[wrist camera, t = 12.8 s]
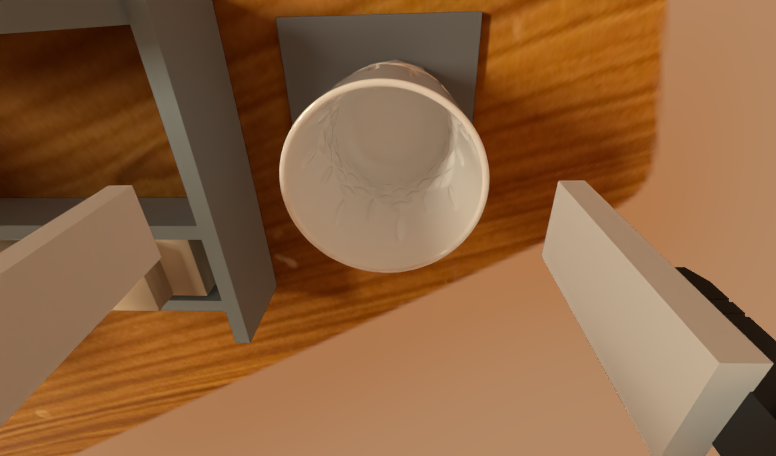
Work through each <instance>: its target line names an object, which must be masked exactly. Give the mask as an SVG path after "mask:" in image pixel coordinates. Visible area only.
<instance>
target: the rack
mask: <svg viewBox="0 0 776 456" xmlns="http://www.w3.org/2000/svg"><path fill="white" fill-rule="evenodd" d="M118 25H130V26H131V29H132V32H133V35H134V38H135V41H136V44H137V47H138V50H139V53H140V56H141V59H142V62H143V65H144V68H145V71H146V74H147V77H148V80H149V83H150V86H151V89H152V92H153V95H154V98H155V101H156V104H157V107H158V110H159V113H160V116H161V119H162V122H163V125H164V128H165V131H166V134H167V137H168V140H169V143H170V146H171V149H172V152H173V155H174V158H175V161H176V164H177V167H178V170H179V173H180V176H181V179H182V182H183V185H184V188H185V191H186V194H187V197H188V198H137V199H138V201H139V203H140V206H141V208H142V211H143V213H144V216H145V218H146V220H147V223H148V225H149V228H150V230H151V233H152V235H153V238H154V240H202V242H203V246H204V249H205V252H206V255H207V258H208V261H209V264H210V267H211V270H212V273H213V276H214V279H215V282H216V284H215V285H214V287H213V288H212V290H211V291H210V293H209V294H208V295H207V296H191V295H172V296H171V298H170V299H169V300H168V301H167V302H166V304H165V305H164V306H163V307H162V309H161V310H180V311H225V312H226V315H227V318H228V321H229V324H230V327H231V330H232V333H233V336H234V339H235V342H236V343H251V340H252V338H253V336H254V334H255V332H256V330H257V328H258V326H259V323H260V321H261V319H262V317H263V315H264V313H265V311H266V309H267V306H268V304H269V302H270V300H271V298H272V296H273V294H274V291H275V289H276V287H277V283H276V279H275V274H274V270H273V266H272V261H271V257H270V252H269V248H268V244H267V239H266V235H265V230H264V226H263V222H262V217H261V213H260V208H259V204H258V200H257V195H256V191H255V186H254V182H253V178H252V173H251V169H250V164H249V160H248V156H247V151H246V147H245V142H244V138H243V134H242V129H241V125H240V120H239V116H238V112H237V107H236V103H235V98H234V94H233V90H232V85H231V81H230V76H229V72H228V68H227V63H226V59H225V54H224V50H223V46H222V41H221V37H220V32H219V28H218V24H217V19H216V15H215V10H214V6H213V2H212V0H0V34H8V33H22V32H36V31H49V30H63V29H77V28H90V27H104V26H118ZM86 199H88V198H0V239H23V238H25V237H26V236H28V235H29V234H31V233H33V232H34V231H36V230H38V229H39V228H41V227H42V226H44V225H46V224H47V223H49V222H50V221H52V220H54V219H55V218H57V217H59V216H60V215H62V214H63V213H65V212H67V211H68V210H70V209H71V208H73V207H75V206H76V205H78V204H79V203H81V202H83V201H84V200H86Z"/></svg>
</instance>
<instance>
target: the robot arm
mask: <svg viewBox="0 0 776 456" xmlns="http://www.w3.org/2000/svg"><path fill="white" fill-rule="evenodd" d="M160 258H161V255H160V252H159V250H158V247H157V245H156V242H155V240H154V238H153V235H152V233H151V230H150V228H149V225H148V223H147V220H146V218H145V216H144V213H143V211H142V208H141V206H140V203H139V201H138V199H137V196H136V194H135V191H134V189H133V186H132V185H116V186H107V187H105V188H104V189H102V190H100V191H99V192H97V193H96V194H94V195H92V196H91V197H89V198H88V199H86V200H84V201H83V202H81V203H79V204H78V205H76V206H75V207H73V208H71V209H70V210H68V211H67V212H65V213H63V214H62V215H60V216H59V217H57V218H55V219H54V220H52V221H50V222H49V223H47V224H46V225H44V226H42V227H41V228H39V229H38V230H36V231H34V232H33V233H31V234H29V235H28V236H26V237H25V238H23V239H21V240H20V241H18V242H17V243H15V244H13V245H12V246H10V247H9V248H7V249H5V250H4V251H2V252H0V427H1V426H2V425H3V424H4V423H5V422H6V421H7V420H8V419H9V418H10V417H11V416H12V415H13V414H14V413H15V412H16V411H17V409H18V408H19V407H20V406H21V405H22V404H23V403H24V402H25V401H26V400H27V399H28V398H29V397H30V396H31V395H32V394H33V393H34V392H35V390H36V389H37V388H38V387H39V386H40V385H41V384H42V383H43V382H44V381H45V380H46V379H47V378H48V377H49V376H50V375H51V374H52V373H53V371H54V370H55V369H56V368H57V367H58V366H59V365H60V364H61V363H62V362H63V361H64V360H65V359H66V358H67V357H68V356H69V355H70V354H71V352H72V351H73V350H74V349H75V348H76V347H77V346H78V345H79V344H80V343H81V342H82V341H83V340H84V339H85V338H86V337H87V336H88V334H89V333H90V332H91V331H92V330H93V329H94V328H95V327H96V326H97V325H98V324H99V323H100V322H101V321H102V320H103V319H104V318H105V317H106V315H107V314H108V313H109V312H110V311H111V310H112V309H113V308H114V307H115V306H116V305H117V304H118V303H119V302H120V301H121V300H122V299H123V298H124V296H125V295H126V294H127V293H128V292H129V291H130V290H131V289H132V288H133V287H134V286H135V285H136V284H137V283H138V282H139V281H140V280H141V279H142V277H143V276H144V275H145V274H146V273H147V272H148V271H149V270H150V269H151V268H152V267H153V266H154V265H155V264H156V263H157V262H158V261H159V260H160ZM542 258H543V260H544V262H545V264H546V265H547V267H548V269H549V271H550V273H551V274H552V276H553V278H554V280H555V282H556V284H557V285H558V287H559V289H560V291H561V293H562V294H563V296H564V298H565V300H566V302H567V303H568V305H569V307H570V309H571V311H572V312H573V314H574V316H575V318H576V320H577V321H578V323H579V325H580V327H581V329H582V330H583V332H584V334H585V336H586V338H587V340H588V341H589V343H590V345H591V347H592V349H593V350H594V352H595V354H596V356H597V358H598V360H599V361H600V363H601V365H602V367H603V369H604V370H605V372H606V374H607V376H608V378H609V379H610V381H611V383H612V385H613V387H614V389H615V390H616V392H617V394H618V396H619V398H620V399H621V401H622V403H623V405H624V407H625V408H626V410H627V412H628V414H629V416H630V417H631V419H632V421H633V423H634V425H635V426H636V428H637V430H638V432H639V434H640V436H641V437H642V439H643V441H644V443H645V445H646V446H647V448H648V450H649V452H650V454H651V456H705V455H706V454H707V453H708V451H709V450H710V448H711V447H712V446H714V447H715V449H716V450H717V452H718V453H719V454H720V456H776V341H775V340H774V339H773V338H772V337H771V336H770V335H768V334H767V333H766V332H765V331H764V330H763V329H762V328H761V327H760V326H759V325H757V324H756V323H755V322H754V321H753V320H752V319H751V318H750V317H745V313H744V312H743V311H742V310H741V309H740V308H739V307H737V306H736V305H735V304H734V303H733V302H729V298H727V297H726V296H725V295H724V294H723V293H722V292H721V291H720V290H719V289H718V288H716V287H715V286H714V285H713V284H712V283H711V282H710V281H708V280H706V279H704V278H703V277H701V276H699V275H697V274H695V273H694V272H692V271H690V270H688V269H687V268H685V267H673V266H672V265H671V264H670V263H669V262H668V261H667V260H666V259H665V258H664V257H663V256H662V255H661V254H660V253H659V252H658V251H657V250H656V249H655V248H654V247H653V246H652V245H651V244H650V243H649V242H647V240H646V239H645V238H644V237H642V236H641V235H640V234H639V233H638V232H637V231H636V230H635V229H634V228H633V227H632V226H631V225H630V224H629V223H628V222H627V221H626V220H625V219H624V218H623V217H622V216H621V215H620V214H619V213H618V212H617V211H616V210H615V209H614V208H613V207H611V206H610V205H609V204H608V203H607V202H606V201H605V200H604V199H603V198H602V197H601V196H600V195H599V194H598V193H597V192H596V191H595V190H594V189H593V188H592V187H591V186H590V185H589V184H588V183H587V182H586V181H585V180H571V181H558V185H557V189H556V193H555V198H554V202H553V207H552V211H551V216H550V220H549V225H548V229H547V234H546V238H545V242H544V247H543V251H542Z"/></svg>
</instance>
